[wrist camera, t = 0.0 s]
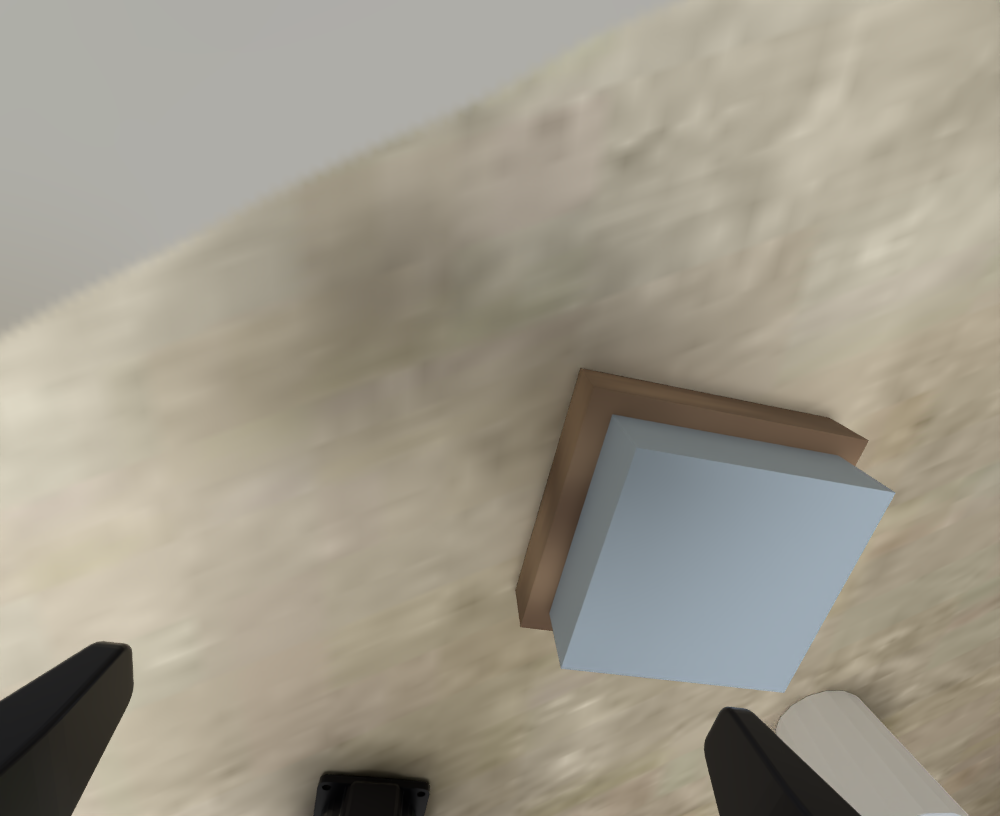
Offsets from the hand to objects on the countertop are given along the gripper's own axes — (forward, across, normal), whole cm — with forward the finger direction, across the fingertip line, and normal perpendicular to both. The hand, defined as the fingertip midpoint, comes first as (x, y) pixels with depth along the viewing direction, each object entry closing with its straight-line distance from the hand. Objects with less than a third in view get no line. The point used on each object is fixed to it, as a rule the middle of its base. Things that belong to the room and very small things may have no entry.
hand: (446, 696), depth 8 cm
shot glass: (+15, -26, +17) cm, 35 cm away
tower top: (+12, -11, +4) cm, 17 cm away
